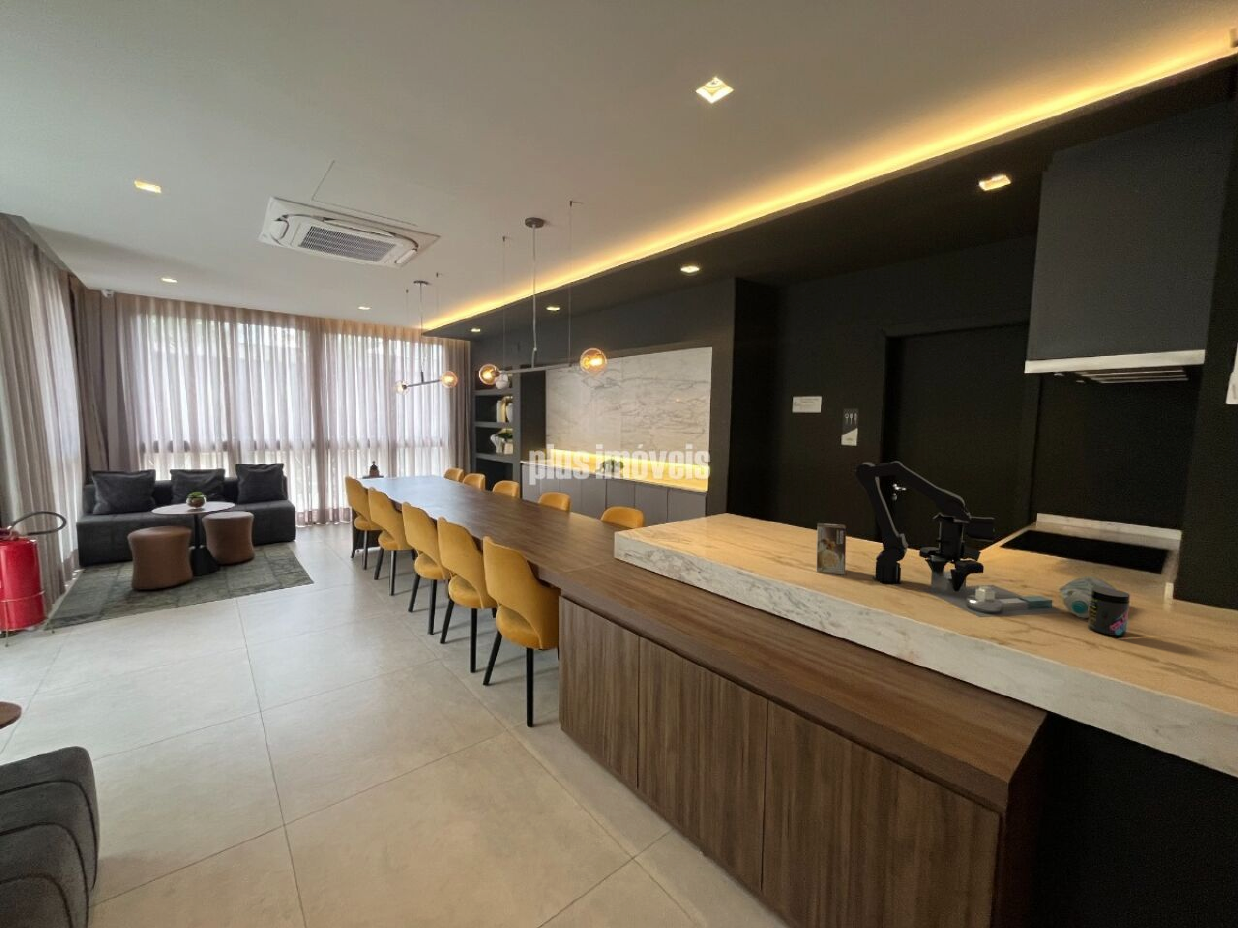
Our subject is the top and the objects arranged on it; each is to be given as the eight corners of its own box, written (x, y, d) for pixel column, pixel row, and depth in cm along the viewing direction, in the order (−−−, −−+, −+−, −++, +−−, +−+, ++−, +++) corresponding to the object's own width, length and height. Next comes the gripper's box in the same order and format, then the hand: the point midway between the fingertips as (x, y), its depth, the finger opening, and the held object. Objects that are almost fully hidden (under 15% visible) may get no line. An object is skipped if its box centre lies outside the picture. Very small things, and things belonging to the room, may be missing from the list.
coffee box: (844, 569, 171) (846, 524, 169) (845, 574, 165) (847, 528, 163) (816, 566, 174) (817, 522, 173) (815, 571, 168) (817, 526, 167)
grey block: (946, 594, 145) (947, 578, 145) (930, 587, 151) (931, 571, 151) (965, 593, 146) (966, 577, 145) (949, 586, 152) (950, 571, 152)
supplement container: (1104, 638, 117) (1108, 596, 116) (1079, 626, 123) (1083, 586, 122) (1134, 639, 116) (1138, 597, 115) (1108, 627, 123) (1112, 587, 122)
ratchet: (983, 615, 130) (984, 592, 130) (959, 603, 138) (960, 582, 138) (1060, 610, 133) (1062, 588, 132) (1032, 599, 141) (1033, 579, 140)
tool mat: (979, 618, 129) (979, 616, 129) (919, 589, 151) (919, 588, 151) (1064, 613, 132) (1064, 612, 132) (993, 585, 154) (993, 584, 154)
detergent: (1064, 592, 147) (1040, 610, 132) (1069, 570, 146) (1045, 585, 131) (1126, 609, 137) (1108, 631, 122) (1132, 585, 136) (1114, 604, 121)
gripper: (1002, 543, 139) (999, 597, 140) (951, 529, 157) (948, 576, 159) (966, 545, 137) (963, 599, 139) (919, 530, 156) (916, 577, 157)
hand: (948, 587), depth 148 cm, fingers closed on grey block, 6 cm apart
